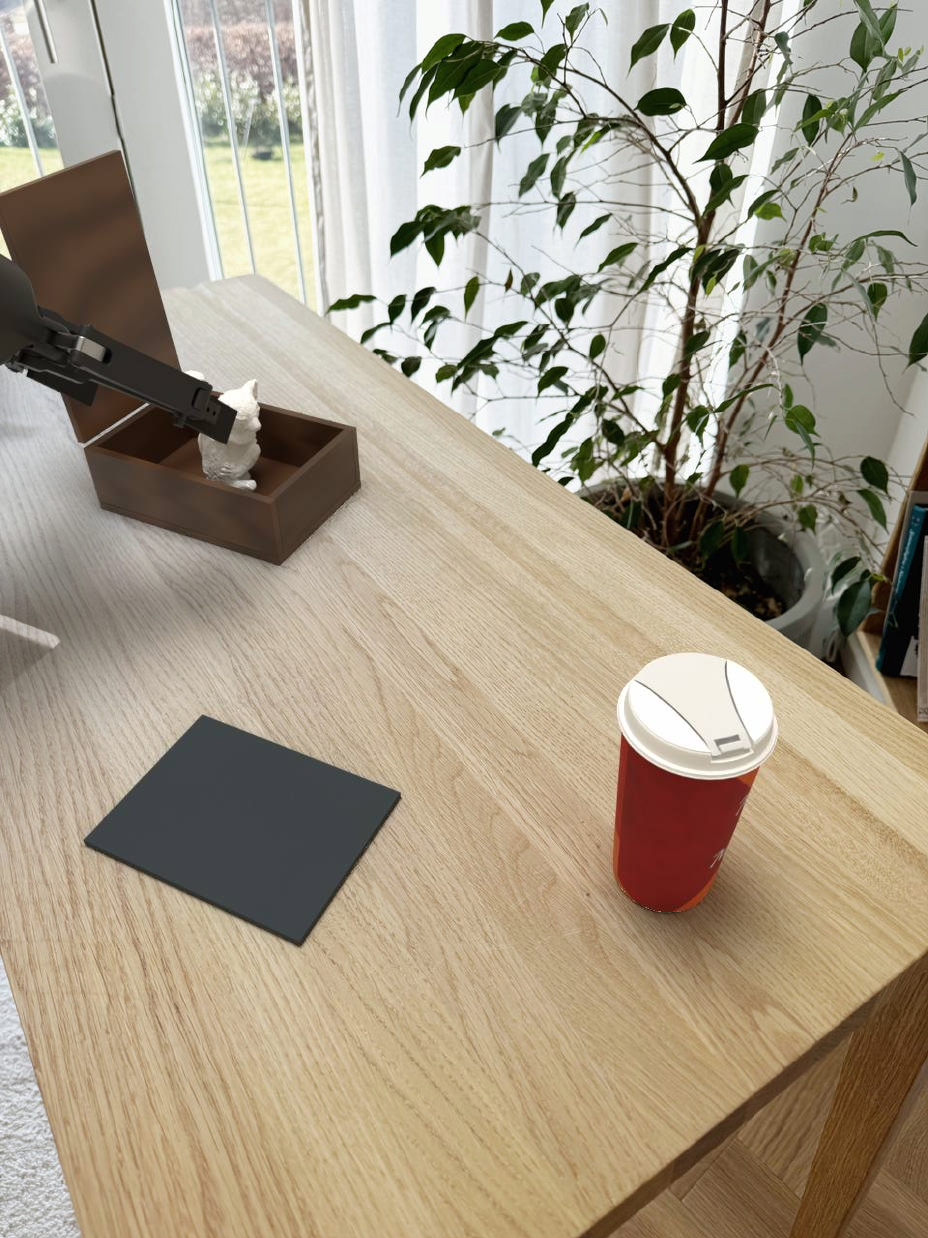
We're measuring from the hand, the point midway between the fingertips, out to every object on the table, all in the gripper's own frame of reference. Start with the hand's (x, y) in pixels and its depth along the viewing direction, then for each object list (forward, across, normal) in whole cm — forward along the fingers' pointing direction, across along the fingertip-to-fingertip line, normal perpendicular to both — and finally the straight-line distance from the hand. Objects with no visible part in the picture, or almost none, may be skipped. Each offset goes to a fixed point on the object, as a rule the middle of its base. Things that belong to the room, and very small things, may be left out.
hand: (159, 408), depth 77 cm
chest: (+14, 0, -4) cm, 14 cm away
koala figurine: (+13, 0, -4) cm, 14 cm away
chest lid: (+2, -10, +8) cm, 13 cm away
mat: (-8, +23, -25) cm, 35 cm away
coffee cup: (-2, +48, -20) cm, 52 cm away
